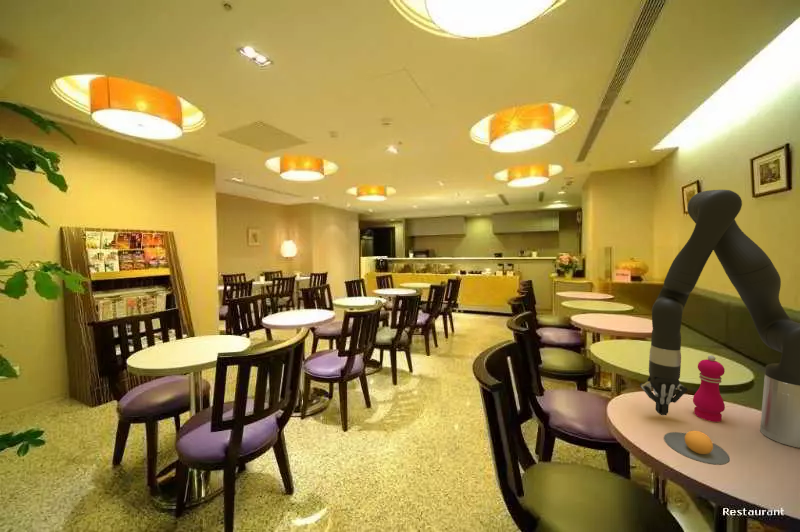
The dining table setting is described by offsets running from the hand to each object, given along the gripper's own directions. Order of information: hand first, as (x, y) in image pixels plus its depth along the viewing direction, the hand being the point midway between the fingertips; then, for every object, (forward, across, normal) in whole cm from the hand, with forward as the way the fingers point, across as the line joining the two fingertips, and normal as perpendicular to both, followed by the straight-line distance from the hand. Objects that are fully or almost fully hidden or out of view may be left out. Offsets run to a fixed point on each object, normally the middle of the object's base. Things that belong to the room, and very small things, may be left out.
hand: (661, 413), depth 99 cm
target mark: (+2, -1, -14) cm, 14 cm away
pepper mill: (+2, +15, +2) cm, 15 cm away
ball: (-1, -2, -16) cm, 16 cm away
